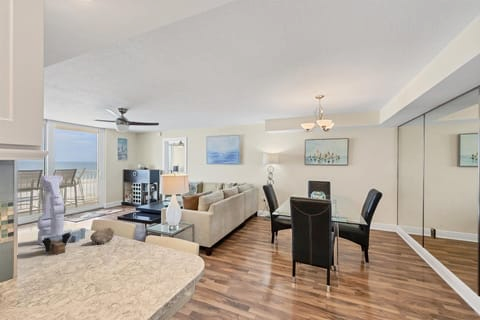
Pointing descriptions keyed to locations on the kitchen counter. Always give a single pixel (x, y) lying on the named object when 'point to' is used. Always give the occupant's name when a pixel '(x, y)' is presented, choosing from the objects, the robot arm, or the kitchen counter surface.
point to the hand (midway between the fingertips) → (56, 249)
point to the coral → (102, 235)
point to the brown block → (57, 247)
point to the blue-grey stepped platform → (72, 236)
